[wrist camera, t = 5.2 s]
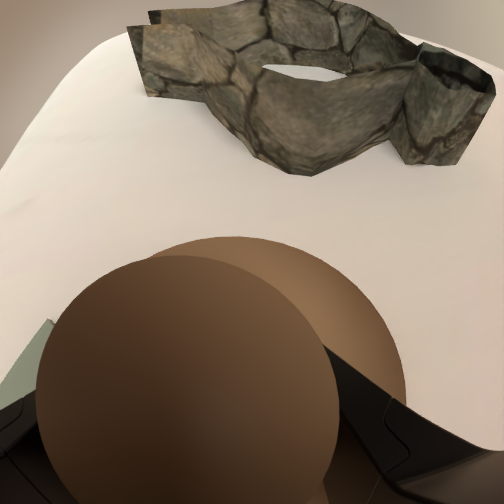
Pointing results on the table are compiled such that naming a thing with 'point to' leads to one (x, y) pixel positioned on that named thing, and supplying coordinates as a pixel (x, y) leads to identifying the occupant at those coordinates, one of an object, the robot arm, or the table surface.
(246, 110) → the stone wall
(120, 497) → the walnut lid
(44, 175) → the table surface
